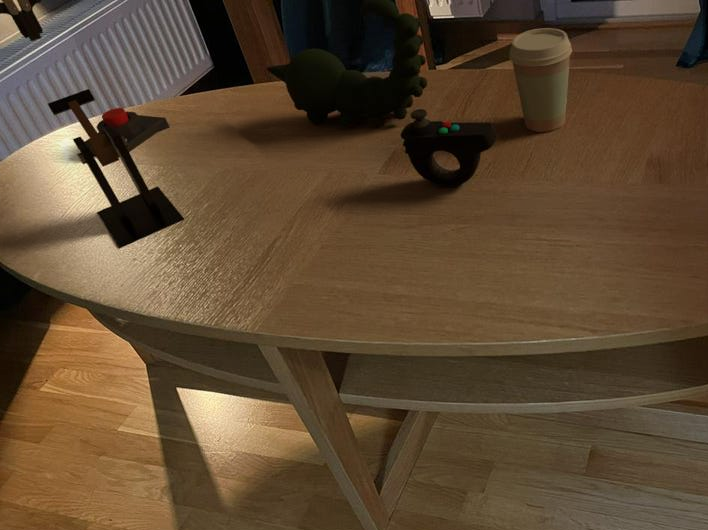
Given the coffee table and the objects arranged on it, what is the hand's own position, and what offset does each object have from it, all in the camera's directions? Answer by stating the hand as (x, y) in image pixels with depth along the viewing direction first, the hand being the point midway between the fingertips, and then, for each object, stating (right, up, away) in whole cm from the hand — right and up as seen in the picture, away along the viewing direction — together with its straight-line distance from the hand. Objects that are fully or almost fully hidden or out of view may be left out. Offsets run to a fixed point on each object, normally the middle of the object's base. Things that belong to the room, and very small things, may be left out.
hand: (35, 38), depth 103 cm
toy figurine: (+46, -9, +9) cm, 48 cm away
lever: (+14, -17, -10) cm, 24 cm away
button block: (+7, -11, +14) cm, 19 cm away
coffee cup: (+75, -13, 0) cm, 76 cm away
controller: (+62, -24, -9) cm, 67 cm away
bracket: (+18, -28, -5) cm, 34 cm away
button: (+6, -9, +11) cm, 16 cm away
